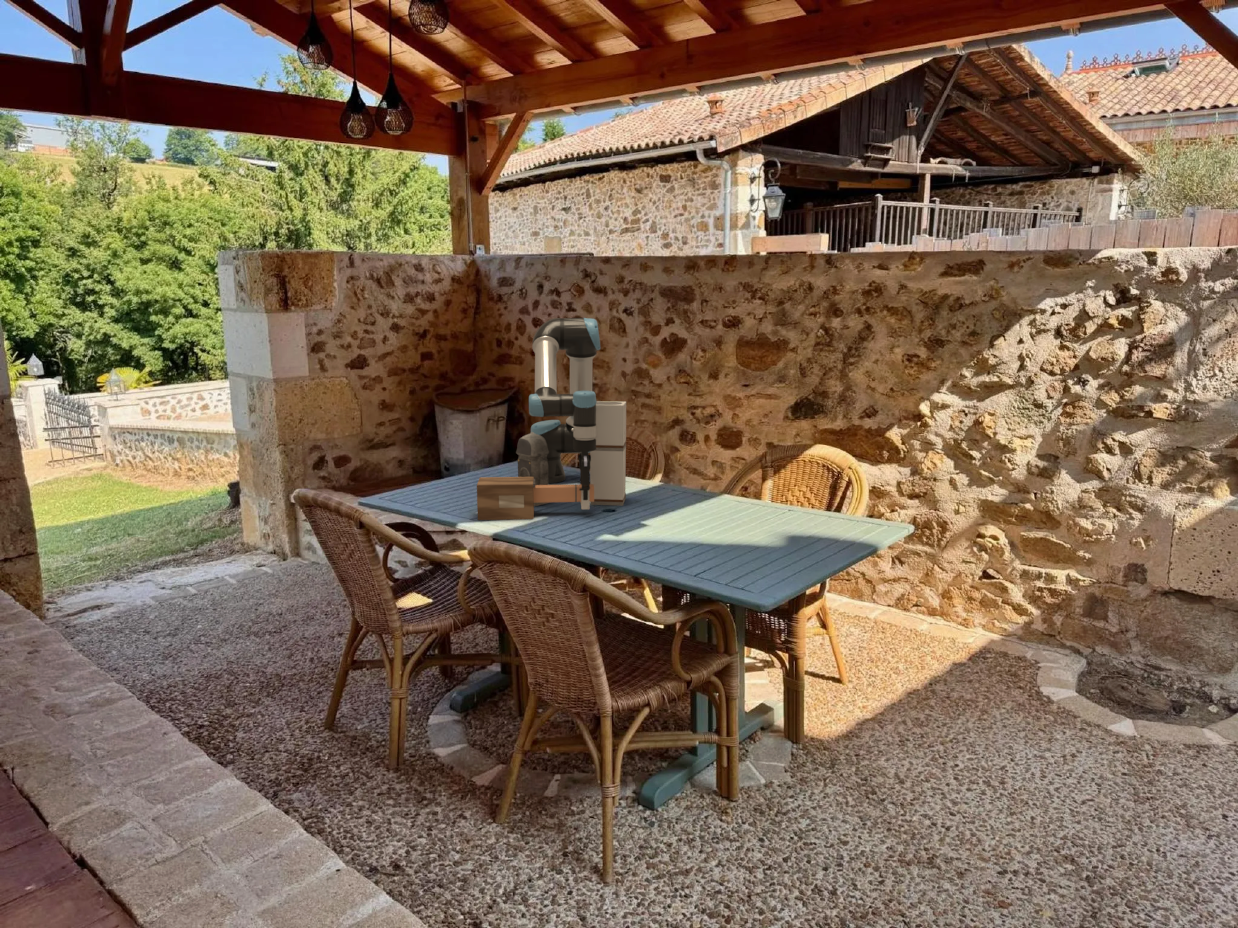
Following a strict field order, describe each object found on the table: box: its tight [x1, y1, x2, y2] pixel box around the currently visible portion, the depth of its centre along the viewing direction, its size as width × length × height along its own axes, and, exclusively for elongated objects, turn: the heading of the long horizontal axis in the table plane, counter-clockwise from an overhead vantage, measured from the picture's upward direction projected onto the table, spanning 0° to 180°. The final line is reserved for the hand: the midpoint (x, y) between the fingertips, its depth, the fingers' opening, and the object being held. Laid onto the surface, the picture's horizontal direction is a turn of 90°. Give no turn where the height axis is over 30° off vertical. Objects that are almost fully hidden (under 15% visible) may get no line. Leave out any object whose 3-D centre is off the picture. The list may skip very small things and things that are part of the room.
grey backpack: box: [515, 431, 551, 507], centre depth 288 cm, size 10×14×25 cm
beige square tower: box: [589, 400, 627, 507], centre depth 288 cm, size 11×11×35 cm
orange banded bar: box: [533, 484, 594, 503], centre depth 273 cm, size 4×25×5 cm, turn 95°
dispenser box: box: [476, 476, 535, 521], centre depth 272 cm, size 12×19×12 cm, turn 95°
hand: (584, 506), depth 275 cm, fingers open, 6 cm apart
